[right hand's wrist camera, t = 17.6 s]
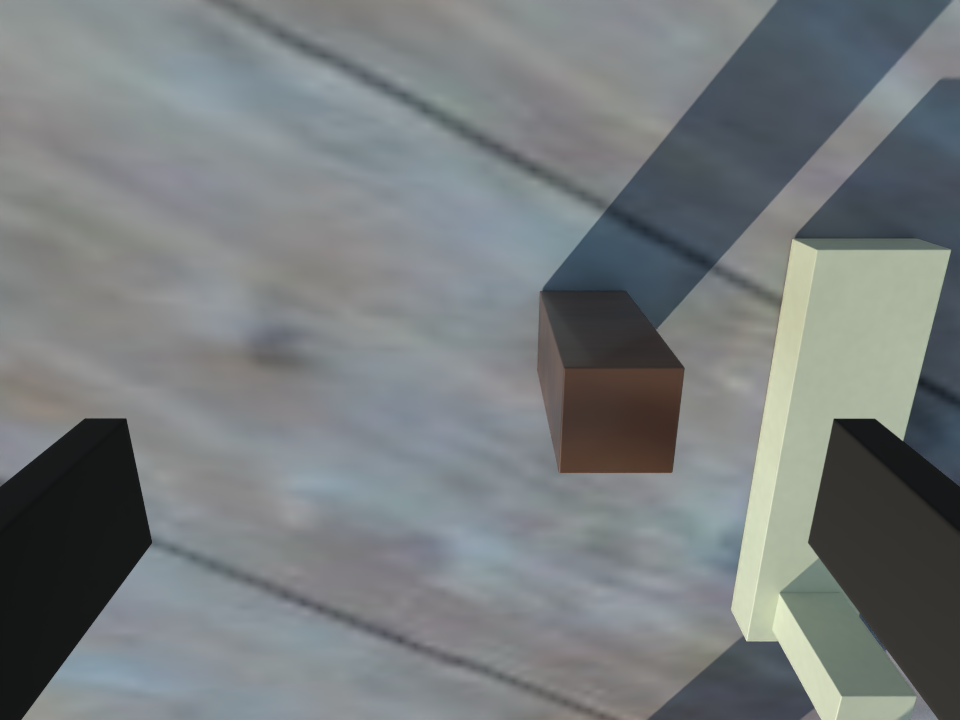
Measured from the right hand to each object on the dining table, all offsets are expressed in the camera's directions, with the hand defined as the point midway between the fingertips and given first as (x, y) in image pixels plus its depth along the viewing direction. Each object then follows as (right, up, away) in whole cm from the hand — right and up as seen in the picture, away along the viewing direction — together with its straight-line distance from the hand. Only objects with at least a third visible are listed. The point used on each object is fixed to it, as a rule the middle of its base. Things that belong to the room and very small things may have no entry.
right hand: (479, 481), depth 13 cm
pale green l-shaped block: (+21, -3, +30) cm, 37 cm away
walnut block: (+6, +4, +27) cm, 28 cm away
